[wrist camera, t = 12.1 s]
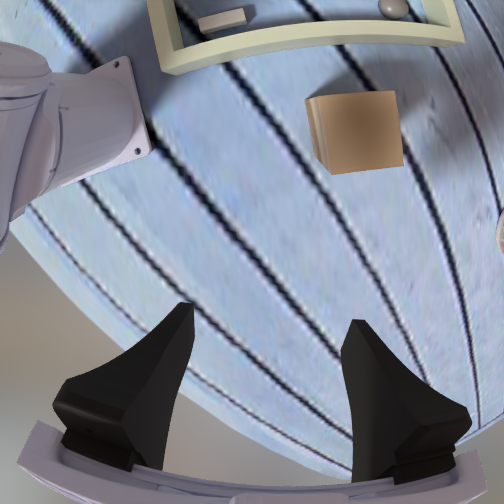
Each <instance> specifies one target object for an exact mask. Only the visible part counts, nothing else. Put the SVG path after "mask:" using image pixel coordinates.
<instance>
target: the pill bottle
mask: <svg viewBox="0 0 504 504" xmlns="http://www.w3.org/2000/svg"><path fill="white" fill-rule="evenodd" d="M496 242H497V246H498V248H499V250H500V251H501V253H502V254H503V255H504V209H503V211H502V213H501V215H500V218H499V221H498V224H497V229H496Z"/></svg>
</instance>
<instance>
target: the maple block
mask: <svg viewBox="0 0 504 504" xmlns="http://www.w3.org/2000/svg"><path fill="white" fill-rule="evenodd" d="M305 105H306V110H307V115H308V120H309V125H310V130H311V136H312V141H313V147H314V153H315V157H316V158H317V159H318V160H319V161H320V162H321V163H322V164H323V166H324V167H325V168H326V169H327V170H328V171H329V172H330V173H331V175H336V174H343V173H350V172H358V171H366V170H374V169H382V168H391V167H400V166H404V162H403V150H402V140H401V131H400V123H399V115H398V108H397V102H396V95H395V91H371V92H356V93H343V94H333V95H324V96H317V97H314V98H310V99H307V100H305Z"/></svg>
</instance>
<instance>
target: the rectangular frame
mask: <svg viewBox="0 0 504 504" xmlns="http://www.w3.org/2000/svg"><path fill="white" fill-rule="evenodd" d="M421 2H422V5H423V8H424V11H425V14H426V18H427V21H428V24H422V23H412V22H400V21H382V20H341V21H322V22H310V23H300V24H292V25H284V26H277V27H271V28H265V29H259V30H254V31H249V32H244V33H239V34H235V35H230V36H226V37H222V38H218V39H214V40H211V41H207V42H203V43H200V44H197V45H193V46H190V47H187V48H184V44H183V40H182V35H181V31H180V27H179V23H178V18H177V14H176V10H175V5H174V1H173V0H146V3H147V8H148V13H149V17H150V22H151V27H152V32H153V36H154V41H155V45H156V50H157V54H158V59H159V63H160V67H161V71H162V72H165V73H169V74H172V75H175V76H178V75H181V74H184V73H187V72H190V71H194V70H197V69H200V68H204V67H208V66H211V65H215V64H219V63H223V62H227V61H231V60H235V59H240V58H244V57H249V56H254V55H259V54H265V53H270V52H276V51H283V50H290V49H297V48H305V47H314V46H325V45H339V44H362V43H389V44H412V45H425V46H435V47H444V48H445V47H449V46H453V45H458V44H463V43H466V42H465V38H464V35H463V31H462V27H461V24H460V20H459V17H458V14H457V11H456V8H455V5H454V2H453V0H421ZM378 7H379V10H380V11H381V13H382V14H383V15H384V16H386V17H387V18H389V19H392V20H398V19H400V18H402V17H404V16H405V15H407V13H408V11H409V8H408V5H407V3H406V1H405V0H379V2H378ZM198 23H199V28H200V31H201V32H202V33H203V34H208V33H211V32H215V31H219V30H223V29H227V28H231V27H236V26H240V25H245V24H247V22H246V18H245V14H244V11H243V8H240V9H235V10H231V11H226V12H222V13H218V14H214V15H211V16H207V17H203V18H200V19H198Z"/></svg>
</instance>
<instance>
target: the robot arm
mask: <svg viewBox="0 0 504 504" xmlns="http://www.w3.org/2000/svg"><path fill="white" fill-rule="evenodd" d="M118 62H119V66H118V67H117V68H116V63H118ZM137 148H140V150H141V153H140V154H138V153H137ZM151 150H152V146H151V143H150V139H149V136H148V132H147V128H146V124H145V120H144V117H143V113H142V109H141V105H140V101H139V97H138V92H137V88H136V84H135V80H134V75H133V71H132V66H131V62H130V59H129V57H127V56H121V57H118V58H116V59H114V60H112V61H110V62H108V63H106V64H104V65H102V66H100V67H98V68H96V69H94V70H92V71H90V72H89V73H87V74H77V73H53V72H52V70H51V69H50V68H49V65H48V63H47V60H46V58H45V57H44V56H42V55H41V54H39V53H37V52H35V51H33V50H31V49H28V48H25V47H22V46H19V45H15V44H11V43H7V42H1V41H0V254H1V253H2V252H3V250H4V248H5V246H6V243H7V241H8V236H9V222H11V221H13V220H14V219H16V218H18V217H19V216H21V215H22V214H24V212H25V208H26V206H27V205H28V203H29V202H31V201H32V200H34V199H36V198H38V197H40V196H42V195H43V194H45V193H47V192H49V191H51V190H53V189H55V188H57V187H59V186H60V187H64V186H66V185H69V184H71V183H73V182H76V181H78V180H81V179H83V178H86V177H88V176H91V175H93V174H96V173H98V172H101V171H104V170H106V169H109V168H112V167H114V166H117V165H120V164H123V163H126V162H129V161H131V160H134V159H137V158H140V157H143V156H146V155H148V154H150V153H151ZM194 338H195V328H194V304H192V303H185V302H180V303H178V304H177V305H176V307H175V308H174V309H173V310H172V311H171V312H170V313H169V314H168V315H167V316H166V317H165V318H164V319H163V320H162V321H161V322H160V323H159V324H158V325H157V326H156V327H155V328H154V329H153V330H152V331H151V332H150V333H148V334H147V335H146V336H145V337H144V338H143V339H141V340H140V341H139V342H138V343H136V344H135V345H134V346H133V347H131V348H130V349H128V350H127V351H126V352H124V353H123V354H121V355H119V356H118V357H116V358H115V359H113V360H111V361H109V362H108V363H106V364H104V365H102V366H100V367H98V368H95V369H93V370H91V371H89V372H86V373H84V374H81V375H78V376H75V377H72V378H69V379H67V380H66V381H65V383H64V384H63V385H62V387H61V389H60V391H59V393H58V394H57V396H56V398H55V400H54V402H53V404H52V405H53V409H54V411H55V413H56V414H57V416H58V417H59V418H60V420H61V421H62V422H63V424H64V425H65V426H66V427H67V430H66V432H65V434H64V433H63V432H61V431H60V430H58V429H56V428H54V427H52V426H50V425H48V424H46V423H44V422H42V421H40V420H37V422H36V424H35V426H34V427H33V429H32V431H31V434H30V435H29V437H28V439H27V441H26V444H25V446H24V448H23V450H22V452H21V454H20V456H19V458H18V461H17V464H18V465H19V466H20V467H21V468H23V469H24V470H25V471H27V472H28V473H29V474H30V475H32V476H33V477H34V478H36V479H37V480H39V481H40V482H42V483H43V484H44V485H46V486H48V487H50V488H52V489H53V490H55V491H57V492H59V493H61V494H63V495H65V496H67V497H69V498H71V499H73V500H75V501H77V502H80V503H82V504H466V503H468V502H469V501H471V500H473V499H475V498H476V497H478V496H480V495H481V494H483V493H485V492H486V491H488V485H487V481H486V478H485V474H484V471H483V468H482V465H481V461H480V458H479V455H478V452H477V450H476V449H474V450H471V451H469V452H466V453H463V454H460V455H458V456H456V457H454V456H453V452H454V451H455V450H456V449H455V445H454V444H455V443H456V442H457V441H458V440H459V439H460V438H461V437H462V436H463V435H464V434H466V432H467V431H468V430H469V429H470V427H471V425H472V420H471V418H470V415H469V413H468V410H467V408H466V407H465V406H463V405H461V404H459V403H457V402H454V401H452V400H450V399H449V398H447V397H445V396H444V395H442V394H440V393H439V392H437V391H436V390H434V389H433V388H431V387H430V386H429V385H427V384H426V383H424V382H423V381H422V380H421V379H419V378H418V377H417V376H416V375H415V374H414V373H412V372H411V371H410V370H409V369H408V368H407V367H406V366H405V365H404V364H403V363H402V362H401V361H400V360H399V359H398V358H397V357H396V356H395V355H394V354H393V353H392V352H391V350H390V349H389V348H388V347H387V346H386V345H385V344H384V342H383V341H382V340H381V339H380V338H379V336H378V335H377V334H376V333H375V332H374V330H373V329H372V328H371V327H370V326H369V324H368V323H367V322H366V321H365V320H358V319H352V322H351V324H350V327H349V330H348V332H347V335H346V337H345V340H344V343H343V345H342V348H341V350H340V351H341V364H342V371H343V376H344V381H345V385H346V390H347V395H348V399H349V404H350V409H351V417H352V431H353V467H352V481H351V483H348V484H337V485H322V486H262V485H247V484H236V483H235V484H234V483H226V482H219V481H211V480H205V479H199V478H193V477H187V476H182V475H177V474H172V473H168V472H164V471H162V468H163V462H164V454H165V448H166V442H167V437H168V431H169V426H170V421H171V416H172V412H173V407H174V403H175V399H176V396H177V393H178V390H179V387H180V384H181V381H182V379H183V376H184V373H185V370H186V367H187V365H188V362H189V359H190V356H191V352H192V348H193V343H194Z"/></svg>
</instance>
